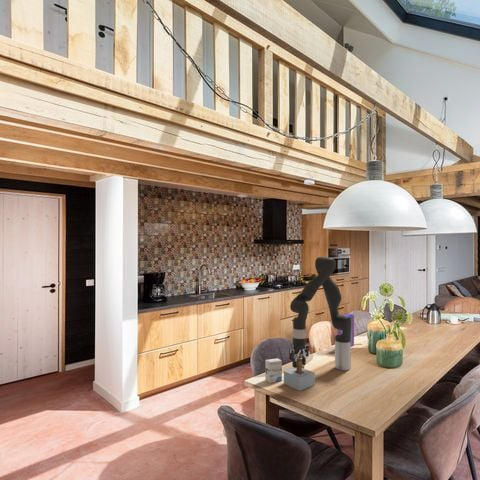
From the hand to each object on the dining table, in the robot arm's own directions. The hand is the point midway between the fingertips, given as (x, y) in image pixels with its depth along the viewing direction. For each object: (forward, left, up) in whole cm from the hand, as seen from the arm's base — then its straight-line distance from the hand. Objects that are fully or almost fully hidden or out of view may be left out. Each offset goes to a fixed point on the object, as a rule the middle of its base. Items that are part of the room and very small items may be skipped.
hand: (299, 366), depth 196 cm
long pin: (0, 0, -10) cm, 10 cm away
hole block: (0, 0, -10) cm, 10 cm away
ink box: (+8, -13, -10) cm, 18 cm away
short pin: (-11, -8, -10) cm, 17 cm away
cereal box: (-81, -27, -10) cm, 86 cm away
